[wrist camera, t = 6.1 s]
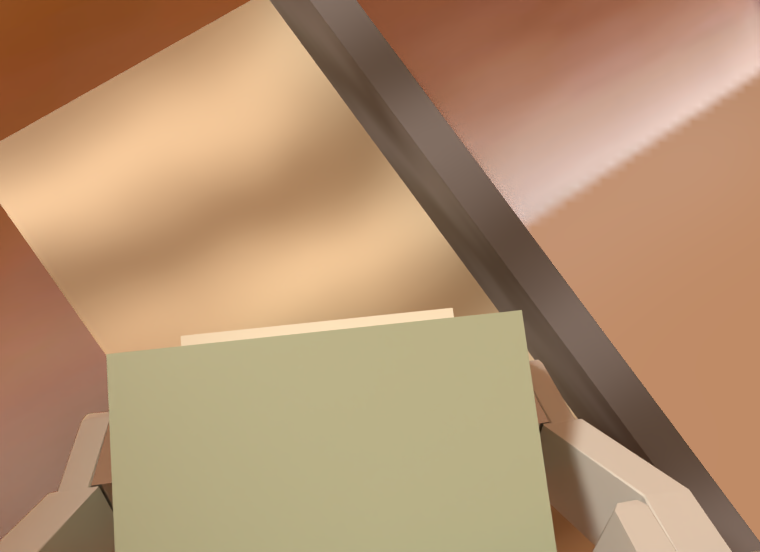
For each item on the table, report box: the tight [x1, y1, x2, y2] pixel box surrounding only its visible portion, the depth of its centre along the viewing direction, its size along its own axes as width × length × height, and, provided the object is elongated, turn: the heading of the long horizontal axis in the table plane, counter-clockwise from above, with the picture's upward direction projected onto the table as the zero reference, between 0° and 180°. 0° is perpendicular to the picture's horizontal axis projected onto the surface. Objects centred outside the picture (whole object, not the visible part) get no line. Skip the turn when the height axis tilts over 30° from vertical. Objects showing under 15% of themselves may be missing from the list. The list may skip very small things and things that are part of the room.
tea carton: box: [106, 308, 557, 552], centre depth 12 cm, size 4×6×10 cm
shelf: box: [0, 0, 760, 552], centre depth 17 cm, size 24×13×4 cm, turn 36°
